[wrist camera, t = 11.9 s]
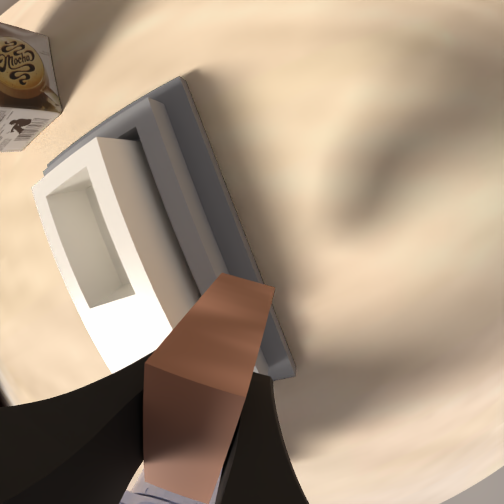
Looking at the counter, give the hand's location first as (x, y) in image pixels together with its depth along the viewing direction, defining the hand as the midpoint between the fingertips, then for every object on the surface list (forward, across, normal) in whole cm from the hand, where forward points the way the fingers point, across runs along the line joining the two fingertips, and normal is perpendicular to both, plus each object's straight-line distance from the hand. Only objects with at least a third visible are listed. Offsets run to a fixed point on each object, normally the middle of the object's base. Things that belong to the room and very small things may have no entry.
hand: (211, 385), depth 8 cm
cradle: (+10, +7, +1) cm, 12 cm away
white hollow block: (+9, +7, +1) cm, 12 cm away
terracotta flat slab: (+3, 0, 0) cm, 3 cm away
